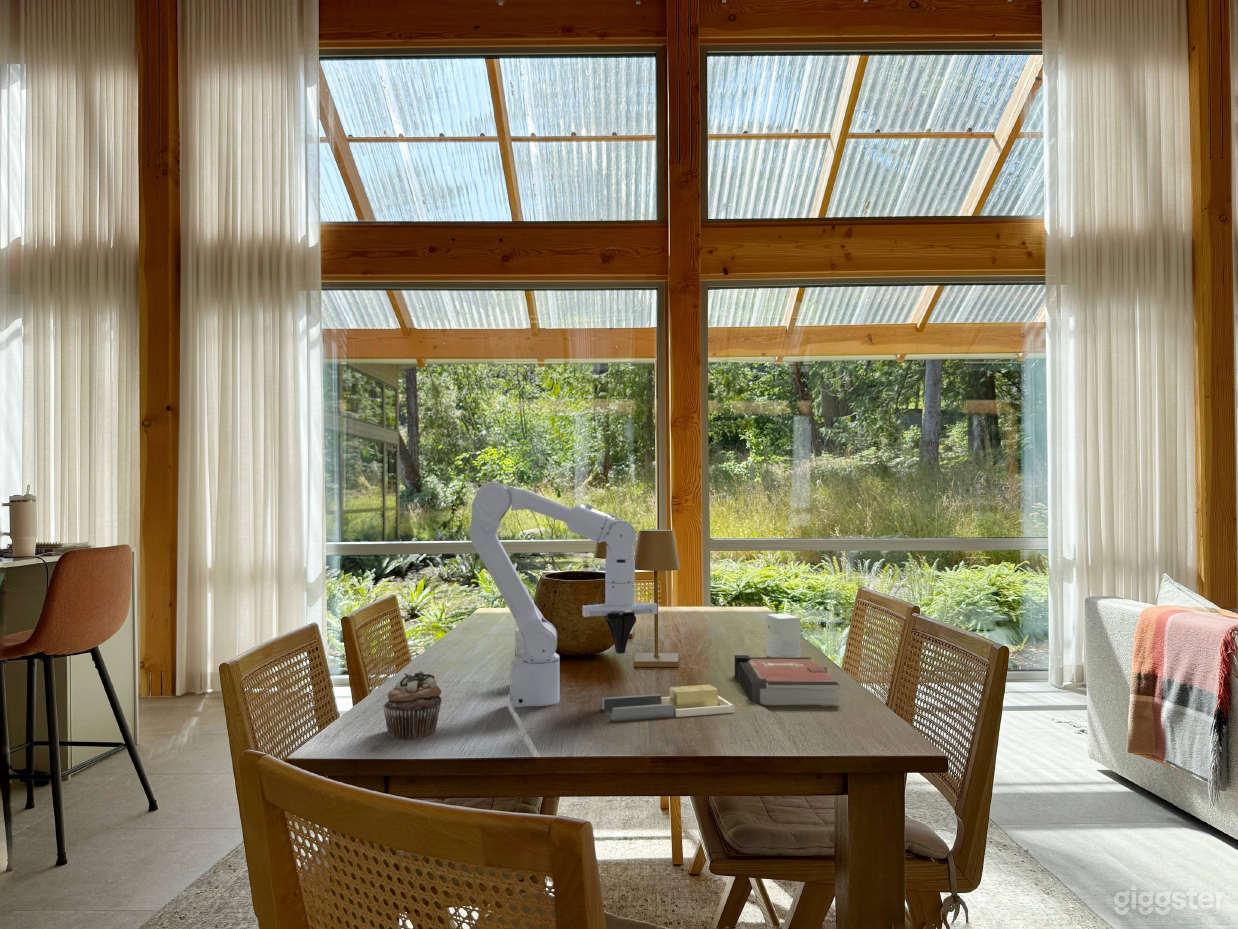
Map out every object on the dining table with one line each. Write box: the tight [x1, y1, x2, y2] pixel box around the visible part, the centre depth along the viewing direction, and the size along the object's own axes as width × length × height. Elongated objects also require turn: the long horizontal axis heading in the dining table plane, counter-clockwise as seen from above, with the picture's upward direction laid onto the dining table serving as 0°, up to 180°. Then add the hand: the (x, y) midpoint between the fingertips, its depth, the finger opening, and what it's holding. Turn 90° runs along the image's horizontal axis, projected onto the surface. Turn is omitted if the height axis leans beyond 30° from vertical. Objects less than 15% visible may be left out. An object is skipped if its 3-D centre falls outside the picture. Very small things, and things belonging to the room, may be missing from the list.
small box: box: [765, 613, 802, 657], centre depth 200 cm, size 8×6×10 cm
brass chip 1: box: [669, 685, 698, 712], centre depth 150 cm, size 4×4×4 cm
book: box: [734, 654, 841, 708], centre depth 168 cm, size 26×18×5 cm
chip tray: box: [661, 695, 735, 718], centre depth 150 cm, size 11×9×2 cm
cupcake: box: [382, 670, 442, 740], centre depth 139 cm, size 10×10×10 cm
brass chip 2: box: [690, 684, 719, 707], centre depth 151 cm, size 4×4×4 cm
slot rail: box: [601, 693, 675, 722], centre depth 148 cm, size 11×8×3 cm
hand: (620, 652), depth 157 cm, fingers closed
